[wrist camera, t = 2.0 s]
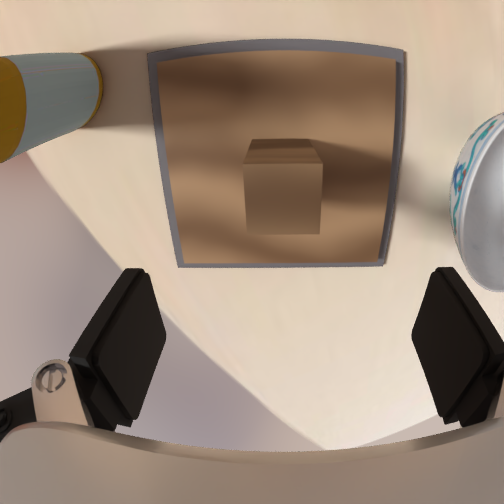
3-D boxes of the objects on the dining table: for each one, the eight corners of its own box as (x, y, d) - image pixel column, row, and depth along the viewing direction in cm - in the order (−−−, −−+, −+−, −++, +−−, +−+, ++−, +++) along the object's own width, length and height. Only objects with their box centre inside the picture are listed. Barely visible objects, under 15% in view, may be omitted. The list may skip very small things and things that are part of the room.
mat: (149, 53, 19) (147, 53, 18) (401, 50, 17) (403, 49, 17) (179, 265, 29) (178, 267, 28) (381, 263, 27) (382, 266, 27)
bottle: (81, 37, 17) (-65, 43, 5) (121, 93, 20) (-28, 136, 8) (35, 91, 20) (-97, 136, 7) (69, 144, 23) (-59, 220, 10)
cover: (160, 63, 19) (110, 59, 12) (391, 59, 17) (443, 55, 11) (186, 258, 28) (161, 317, 21) (374, 257, 26) (401, 316, 20)
